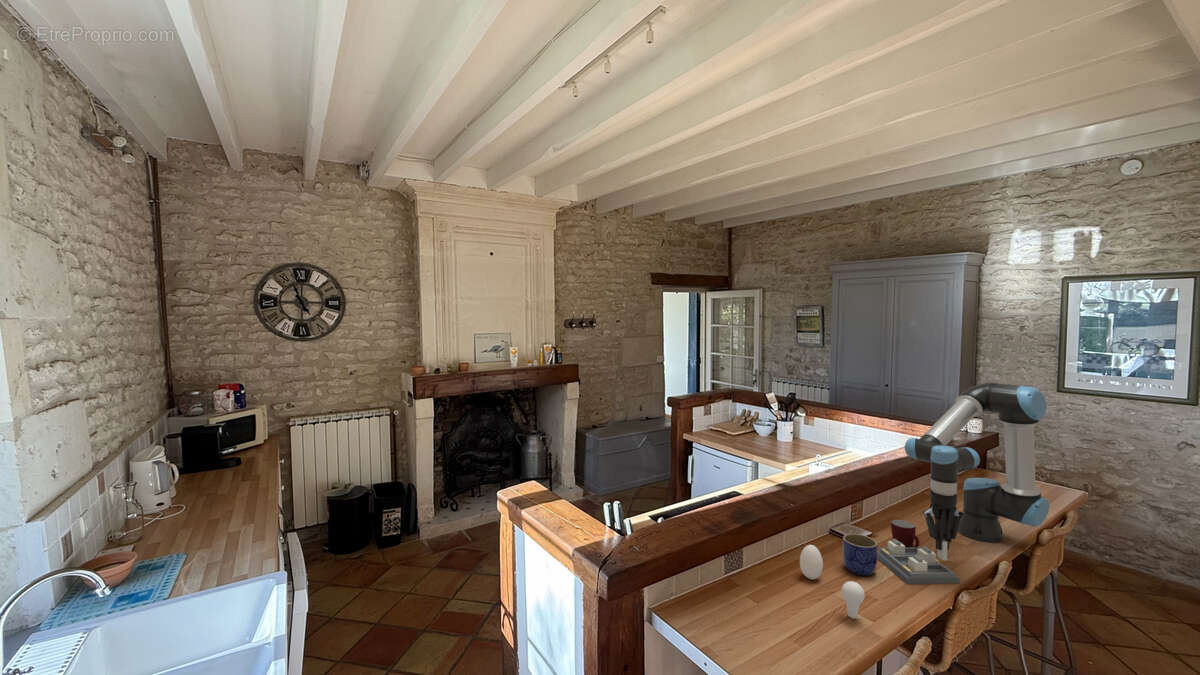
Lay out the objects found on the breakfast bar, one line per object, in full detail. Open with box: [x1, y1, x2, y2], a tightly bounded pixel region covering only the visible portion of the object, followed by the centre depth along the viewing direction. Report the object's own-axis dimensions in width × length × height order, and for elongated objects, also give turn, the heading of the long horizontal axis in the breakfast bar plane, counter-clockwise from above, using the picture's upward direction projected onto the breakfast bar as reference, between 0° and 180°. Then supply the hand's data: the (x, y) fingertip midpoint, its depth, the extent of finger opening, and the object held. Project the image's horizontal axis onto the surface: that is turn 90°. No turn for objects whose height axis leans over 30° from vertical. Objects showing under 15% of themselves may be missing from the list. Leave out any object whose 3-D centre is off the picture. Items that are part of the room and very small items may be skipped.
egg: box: [799, 544, 824, 580], centre depth 168 cm, size 7×7×12 cm
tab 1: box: [887, 538, 905, 555], centre depth 180 cm, size 4×4×6 cm
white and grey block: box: [908, 555, 928, 573], centre depth 168 cm, size 4×4×6 cm
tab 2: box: [917, 545, 937, 563], centre depth 174 cm, size 4×4×6 cm
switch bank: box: [877, 546, 960, 585], centre depth 174 cm, size 18×18×4 cm
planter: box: [842, 533, 878, 576], centre depth 173 cm, size 11×11×11 cm
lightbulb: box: [841, 580, 866, 620], centre depth 146 cm, size 6×6×11 cm
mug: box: [890, 519, 920, 547], centre depth 188 cm, size 11×8×10 cm
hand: (942, 558), depth 168 cm, fingers closed
